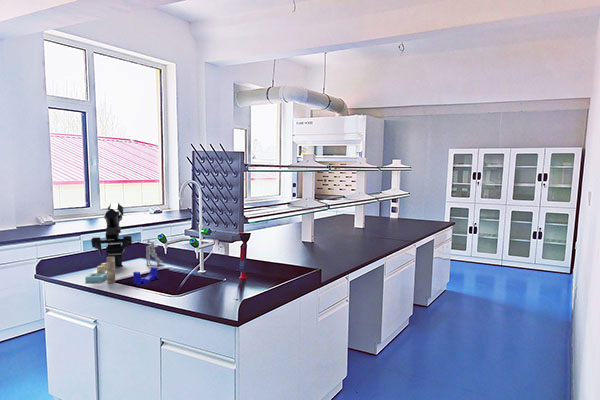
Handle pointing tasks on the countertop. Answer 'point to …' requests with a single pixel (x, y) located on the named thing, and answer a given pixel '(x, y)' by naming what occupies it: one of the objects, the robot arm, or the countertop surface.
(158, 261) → the clamp
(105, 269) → the pin board
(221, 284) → the countertop surface
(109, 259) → the birch pin
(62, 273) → the countertop surface
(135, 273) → the blue saddle block
